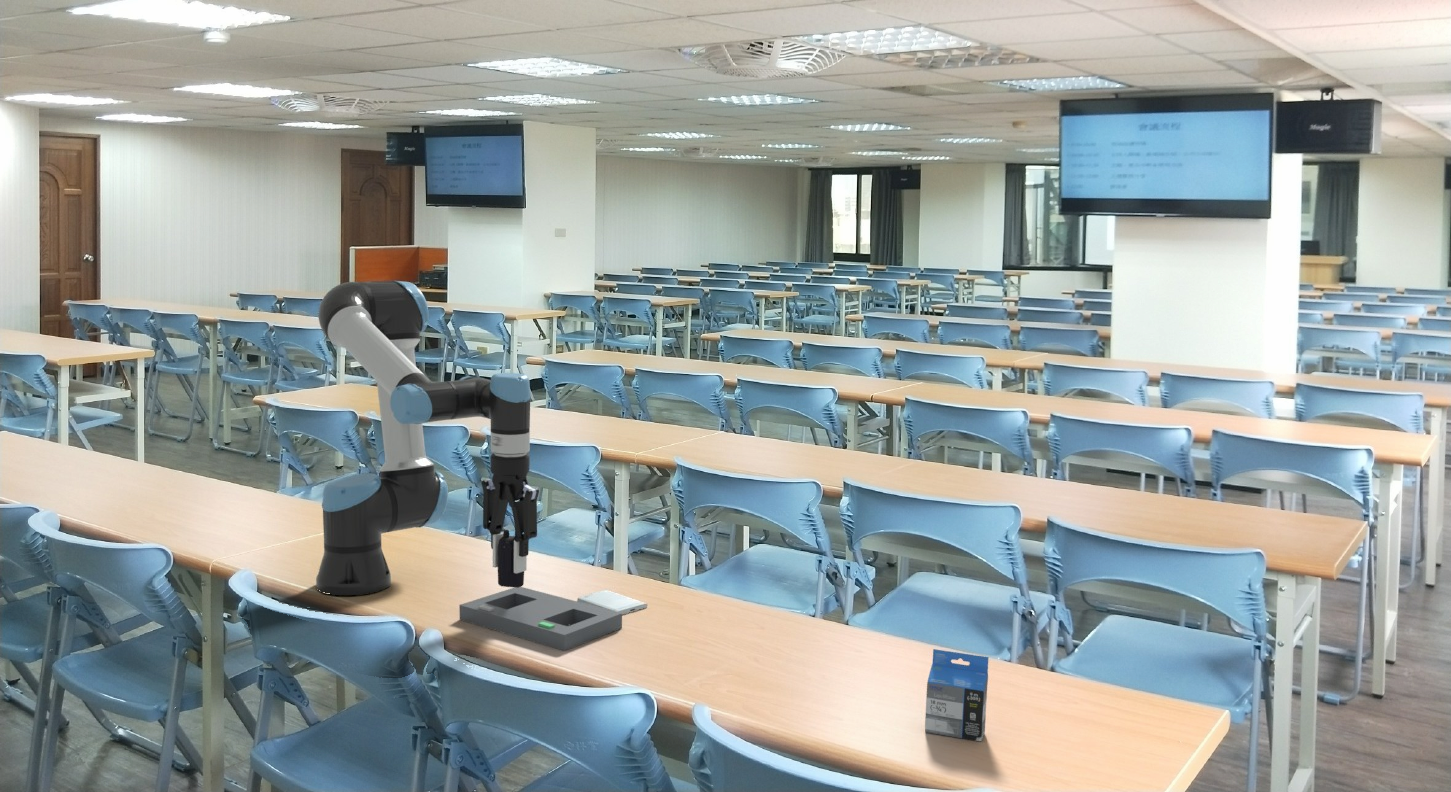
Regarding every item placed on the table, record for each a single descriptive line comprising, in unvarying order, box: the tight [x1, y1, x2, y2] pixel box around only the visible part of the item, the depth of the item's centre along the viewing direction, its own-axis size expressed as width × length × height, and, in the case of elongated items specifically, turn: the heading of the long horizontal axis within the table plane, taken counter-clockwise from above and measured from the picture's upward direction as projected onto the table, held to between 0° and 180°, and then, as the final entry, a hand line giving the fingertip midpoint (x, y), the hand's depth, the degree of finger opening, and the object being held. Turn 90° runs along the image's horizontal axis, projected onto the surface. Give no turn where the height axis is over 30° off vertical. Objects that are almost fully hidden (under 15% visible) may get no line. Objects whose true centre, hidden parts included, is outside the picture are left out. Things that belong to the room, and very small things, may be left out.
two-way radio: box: [497, 528, 525, 588], centre depth 236 cm, size 6×4×15 cm
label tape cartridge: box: [924, 648, 989, 742], centre depth 185 cm, size 9×4×12 cm, turn 69°
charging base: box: [459, 586, 623, 652], centre depth 233 cm, size 28×16×3 cm, turn 54°
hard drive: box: [577, 589, 648, 615], centre depth 246 cm, size 2×8×12 cm
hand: (509, 568), depth 236 cm, fingers closed on two-way radio, 5 cm apart
